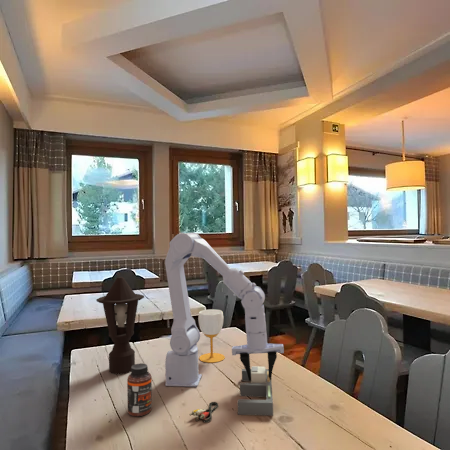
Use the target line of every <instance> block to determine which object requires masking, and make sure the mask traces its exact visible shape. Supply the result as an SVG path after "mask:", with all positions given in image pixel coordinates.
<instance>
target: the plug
mask: <svg viewBox="0 0 450 450" xmlns="http://www.w3.org/2000/svg"><path fill="white" fill-rule="evenodd" d="M250 368H251V381H250V383H266V370H265V369H266V366H258V365H257V366H255V365H252V366H250Z"/></svg>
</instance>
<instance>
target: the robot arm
mask: <svg viewBox="0 0 450 450" xmlns="http://www.w3.org/2000/svg"><path fill="white" fill-rule="evenodd" d="M190 257H195V258H196V257H197V258H201V259H203V260H205V262H207V263H208V264H209V265H210V266H211V267H212V268H213V269H214V270H215V271H216V272H217V273H219V274H220V275H221V276H222V280H223V281H222V283H223V284H224V285H225V286H226V287H227V288H228V289H229V290H230V291H231V292H232V293H233V294H234V295H235V296H236V297H237V298H238V299H240V300H241V301H240V302H241V305H242V307H243V309H244V314H245V315H244V321H245V333H246V344H243V345H242V344H241V345H234V346H232V347H231V356H236V355H239V359H240V362H241V363H242V365H243V367H244V369H246V372H247V374H248V378H249V381H248V382H251V361H250V358H251V357H250V356H251V355H250V354H254V355H255V354H267V363H268V369H269V377H270V379H271V380H272V377H273V375H272V374H273V370H274V365H275V362H276V360H277V357H278V356H277V354H278V353H280V354H284V353H285V352H284V351H285V348H284V344H283V343H268V335H267V333H268V332H267V322H266V313H265V305H264V304H263V303H264V302H265V299H266V294H265V292H264V290H263V289H262V288H261V286H257V284H256V283H255V282H251V280H250V279H249V278H248V277H246V275H244V274H245V271H244V270H242V269H240V270H239V268H237V267H235V268H234V267H233V268H232V267H231V266H230V265H229V264H228V263H227V262H226V261H225V260H224V259H223V258H222V257H221V256H220V254H218V253H217V252H216V250H215V249H214V248H213V247H212V246H211V245H210V244H209V243H208V242H207V241H206V239H204V238H202V236H200V235H199V234H198V233H196V232H187V233H185V232H181V233H178V234H175V236H174V237H173V238H172V239H171V240H170V241H169V248H168V251H167V253H166V257H165V259H164V266H165V272H166V279H167V285H168V291H169V297H170V304H171V311H172V316H173V317H172V318H173V322H172V326H171V329H170V331H171V337H170V339H169V340H170V341H169V346H170V349H171V350H168V351H167V352H166V355H165V360H164V361H165V362H164V363H165V364H164V365H165V367H164V368H165V386H166V387H192V388H193V387H198V386H199V384H200V381H201V379H202V376H203V375H202V373H199V349H198V343H199V341H200V339H201V331H200V330H199V329H198V327H197V324H196V320H195V319H194V317H193V316H192V311H191V306H190V300H189V293H188V287H187V286H188V285H187V279H186V274H185V267H184V265H185V264H186V263H187V261H188V260H189V258H190Z"/></svg>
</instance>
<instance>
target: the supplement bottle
mask: <svg viewBox="0 0 450 450" xmlns="http://www.w3.org/2000/svg"><path fill="white" fill-rule="evenodd" d="M148 369H149V368H148V364H147V363H142V362H141V363H135V365H133V366H132V367H131V372H130V374H129V375H128V377H127V380H126V381H127V383H126V385H127V386H126V387H127V390H126V391H127V413H128V414H129V415H130V416H132V417H142V416H146V415H148V414H149V413H150V412H151V411H152V409H153V405H152V403H153V397H152V396H153V394H152V393H153V392H152V391H153V388H152V387H153V384H152V383H153V382H152V374H151V373H150V372H149V371H148Z"/></svg>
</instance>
